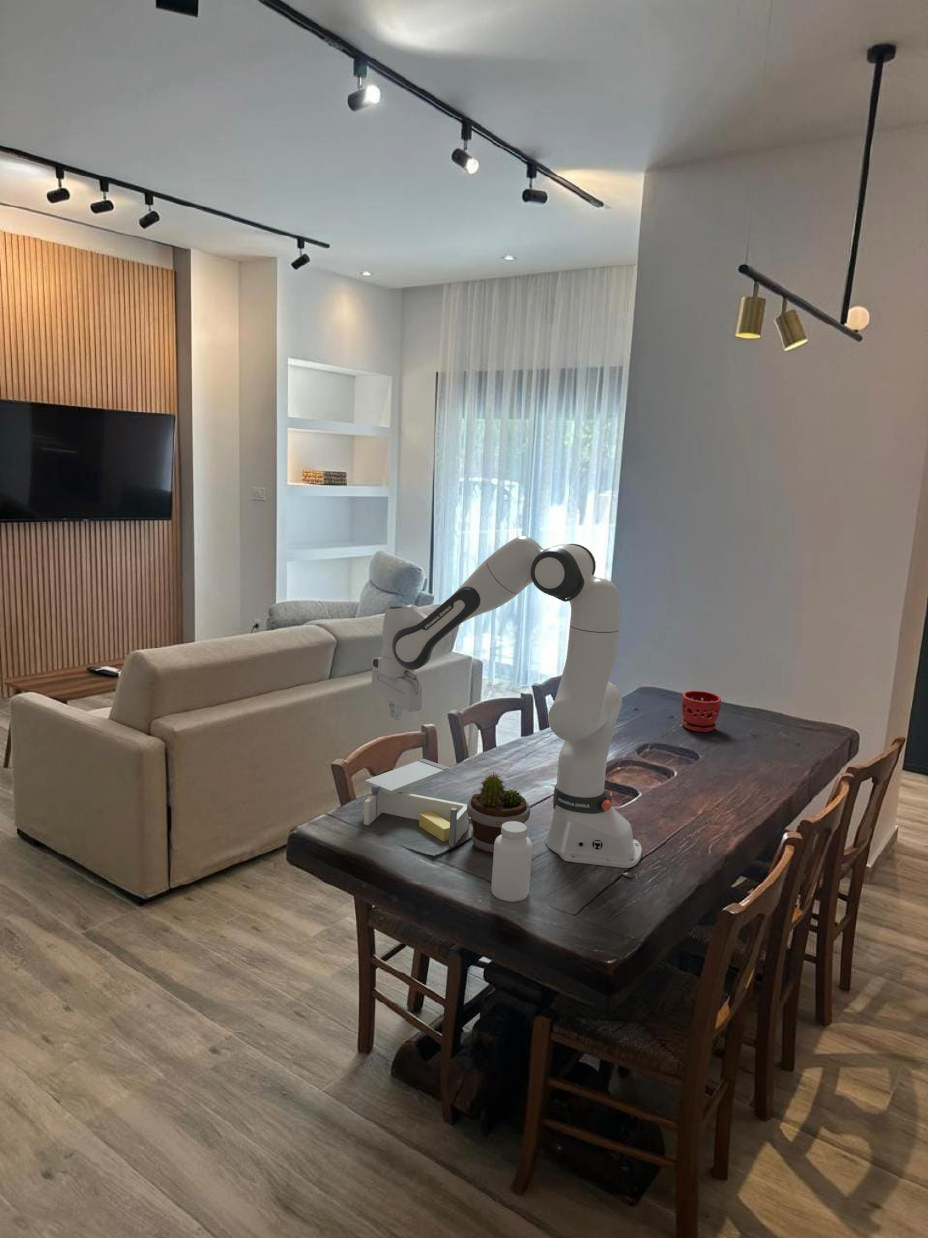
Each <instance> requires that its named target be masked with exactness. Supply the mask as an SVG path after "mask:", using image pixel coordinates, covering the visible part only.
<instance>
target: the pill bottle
mask: <svg viewBox="0 0 928 1238" xmlns="http://www.w3.org/2000/svg"><path fill="white" fill-rule="evenodd" d="M492 856H493V859H492V873H491V874H492V875H491V886H490V887H491V894H492V895H494V897H496V898H497V899H499V900H501V901H505V902H512V903H513V902H514V903H515V902H520V901H523V900H525V899H526V898H527V897H528V896H529V893H530V883H531V872H532V871H531V870H532V859H533V858H532V857H533V843H532V841H531V839H530V837H528V827H527V825H525V823H524V824H523V823H521V822H516V821H509V822H505V823H503V824H502V826H501V835H499V836H498V837H497V838H496V840H495V843H494V855H492Z"/></svg>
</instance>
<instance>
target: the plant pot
mask: <svg viewBox="0 0 928 1238" xmlns="http://www.w3.org/2000/svg"><path fill="white" fill-rule="evenodd" d="M721 707H722V698H721V696H719V694H718V695H717V694H715V693H712V692H708V691H704V690H687V691H685V692H683V693H682V697H681V713H682V717H683V719H682V720H681V724H682V725H683V726H684V727H685V729H688V730H691V731H694V732H698V733H699V732H700V733H708V732H709V733H710V732H713V730H715V729H716V728H717V723H716V721H717V719H718V718H719V714H720V712H721Z"/></svg>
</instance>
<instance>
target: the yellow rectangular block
mask: <svg viewBox="0 0 928 1238" xmlns="http://www.w3.org/2000/svg"><path fill="white" fill-rule="evenodd" d="M418 826H419V827H420V828H421V829H423V830H425V831H426V832H427V833H429V834H431V835H433V836H434V837H435V836H436V838H437V839H438V840H440V841H441V842H443V841H444V842H446V840H447V841H449V832H450V822H448V821H447V820H445V819H443V818H442V817H440V816H439V815H437V814H435V813H434V812H432V811H428V812H425V813H421V814H420V817H419V820H418Z"/></svg>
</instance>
